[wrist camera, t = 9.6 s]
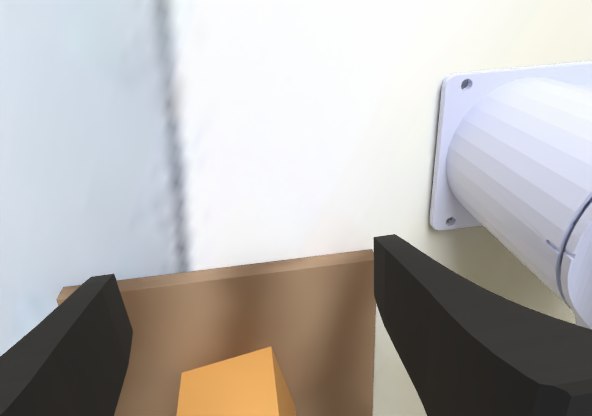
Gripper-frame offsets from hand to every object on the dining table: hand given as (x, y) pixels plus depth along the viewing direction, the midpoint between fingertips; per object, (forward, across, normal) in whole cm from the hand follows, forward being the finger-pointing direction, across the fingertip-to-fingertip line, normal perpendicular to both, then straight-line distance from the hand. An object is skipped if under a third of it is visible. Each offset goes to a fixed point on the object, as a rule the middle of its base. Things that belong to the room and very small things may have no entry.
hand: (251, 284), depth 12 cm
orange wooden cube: (+8, +2, +14) cm, 16 cm away
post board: (+9, +2, +14) cm, 17 cm away
